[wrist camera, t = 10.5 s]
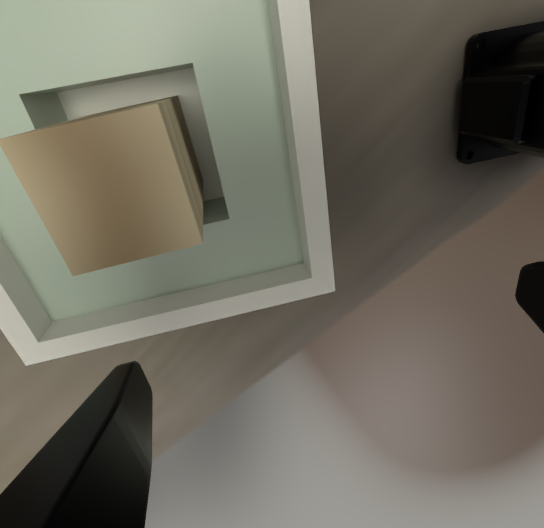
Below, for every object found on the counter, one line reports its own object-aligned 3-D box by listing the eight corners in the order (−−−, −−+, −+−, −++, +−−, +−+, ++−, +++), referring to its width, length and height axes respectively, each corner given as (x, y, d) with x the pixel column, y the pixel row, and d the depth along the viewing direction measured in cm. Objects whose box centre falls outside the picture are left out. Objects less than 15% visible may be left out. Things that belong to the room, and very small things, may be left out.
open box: (263, -57, 15) (296, -136, 9) (302, 240, 21) (335, 291, 16) (-85, -2, 14) (-267, -56, 8) (71, 292, 20) (26, 365, 15)
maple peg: (177, 95, 16) (157, 103, 9) (202, 180, 18) (202, 243, 11) (90, 114, 16) (-4, 139, 8) (125, 199, 17) (72, 276, 10)
